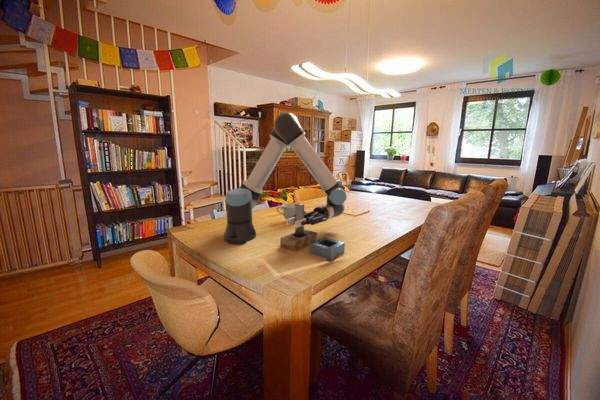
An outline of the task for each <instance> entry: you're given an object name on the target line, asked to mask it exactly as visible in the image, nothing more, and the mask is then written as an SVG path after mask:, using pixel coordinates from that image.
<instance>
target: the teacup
mask: <svg viewBox="0 0 600 400" xmlns="http://www.w3.org/2000/svg"><path fill="white" fill-rule="evenodd" d="M295 204H297V202H288V203H283V204H281V205H277V206H276V212H277V213H278V214H280V215H282V216H283V217H284V219H285V220H286V221H287V219H290V218H293V215H295ZM279 208H280V210H282V212H281V211H280V210H279Z"/></svg>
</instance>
